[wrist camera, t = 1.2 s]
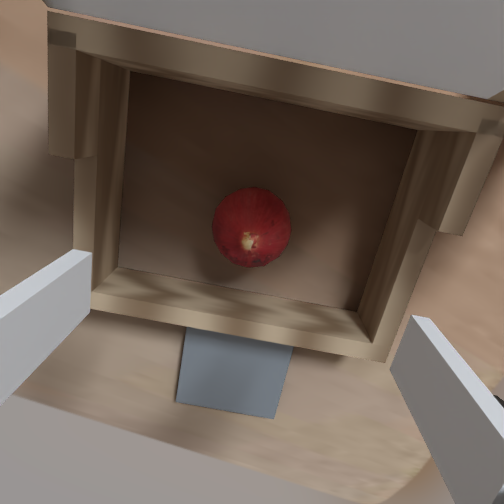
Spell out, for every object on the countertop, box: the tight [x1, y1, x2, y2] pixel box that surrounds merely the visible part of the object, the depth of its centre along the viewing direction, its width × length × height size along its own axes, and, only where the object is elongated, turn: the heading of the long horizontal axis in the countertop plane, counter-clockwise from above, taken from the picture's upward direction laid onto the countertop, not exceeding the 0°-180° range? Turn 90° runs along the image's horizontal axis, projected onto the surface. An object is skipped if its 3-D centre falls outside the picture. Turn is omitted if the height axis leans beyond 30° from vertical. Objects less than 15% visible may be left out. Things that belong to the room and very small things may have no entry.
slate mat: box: [176, 327, 294, 419], centre depth 34 cm, size 10×10×1 cm
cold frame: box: [47, 11, 504, 363], centre depth 26 cm, size 25×19×8 cm
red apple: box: [212, 187, 291, 267], centre depth 26 cm, size 6×6×8 cm
